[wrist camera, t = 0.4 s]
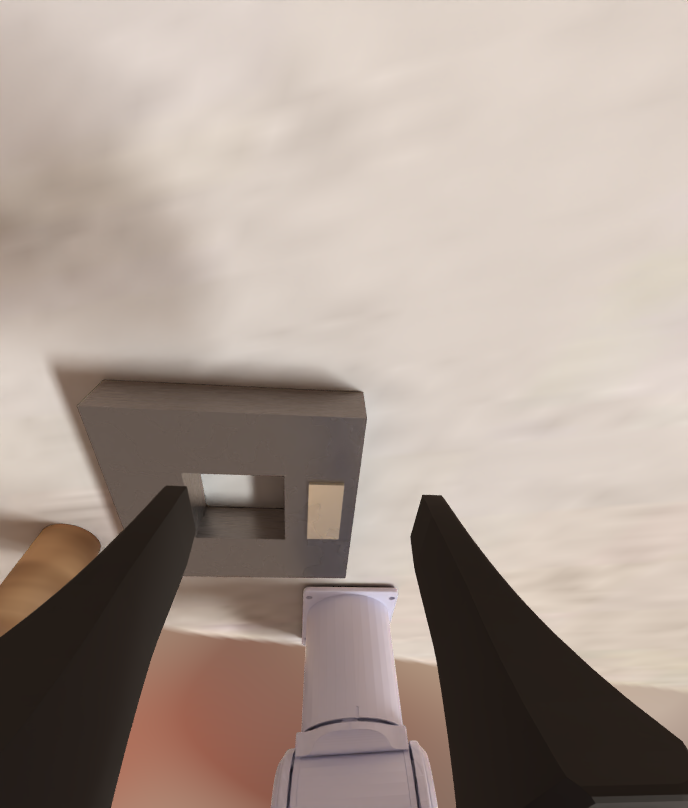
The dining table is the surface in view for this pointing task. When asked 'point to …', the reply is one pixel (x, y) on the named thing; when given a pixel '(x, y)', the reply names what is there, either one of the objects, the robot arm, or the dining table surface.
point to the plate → (237, 468)
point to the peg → (44, 571)
